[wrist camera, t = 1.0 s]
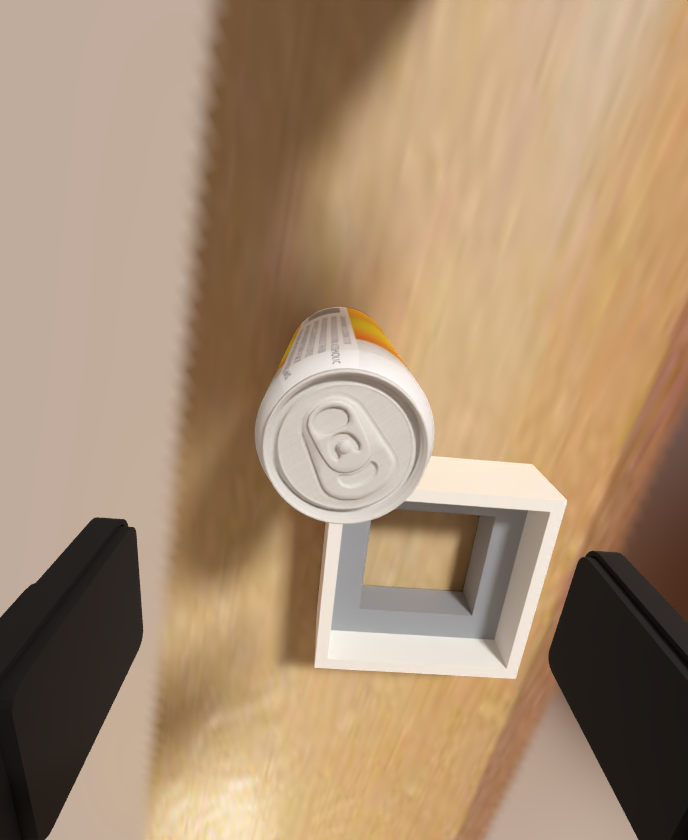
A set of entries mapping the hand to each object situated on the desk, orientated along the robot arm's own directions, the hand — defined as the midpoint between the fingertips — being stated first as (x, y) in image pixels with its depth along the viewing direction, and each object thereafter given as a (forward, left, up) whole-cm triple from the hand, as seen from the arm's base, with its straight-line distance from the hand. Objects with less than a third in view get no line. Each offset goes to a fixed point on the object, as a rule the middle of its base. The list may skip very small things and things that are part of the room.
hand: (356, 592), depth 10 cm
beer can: (-1, 0, -21) cm, 21 cm away
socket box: (+12, +7, -20) cm, 25 cm away
